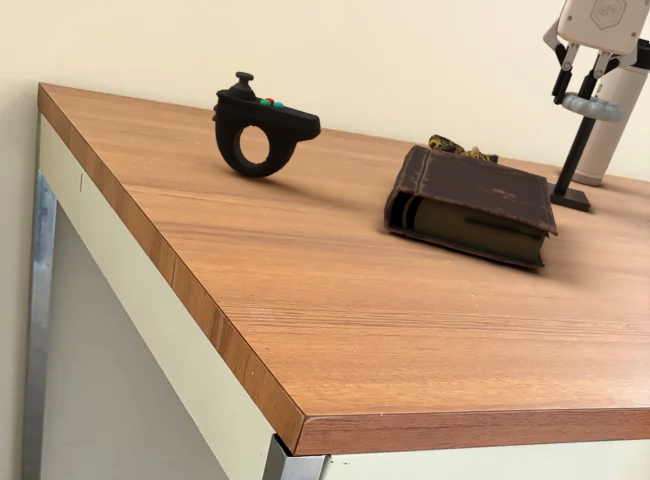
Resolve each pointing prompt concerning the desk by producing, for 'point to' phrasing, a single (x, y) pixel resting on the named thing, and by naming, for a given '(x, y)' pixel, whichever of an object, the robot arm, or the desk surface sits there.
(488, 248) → the diary
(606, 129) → the travel mug
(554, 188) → the stand
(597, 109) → the ring
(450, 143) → the toy snake
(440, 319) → the desk surface
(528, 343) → the desk surface
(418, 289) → the desk surface
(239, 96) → the controller
